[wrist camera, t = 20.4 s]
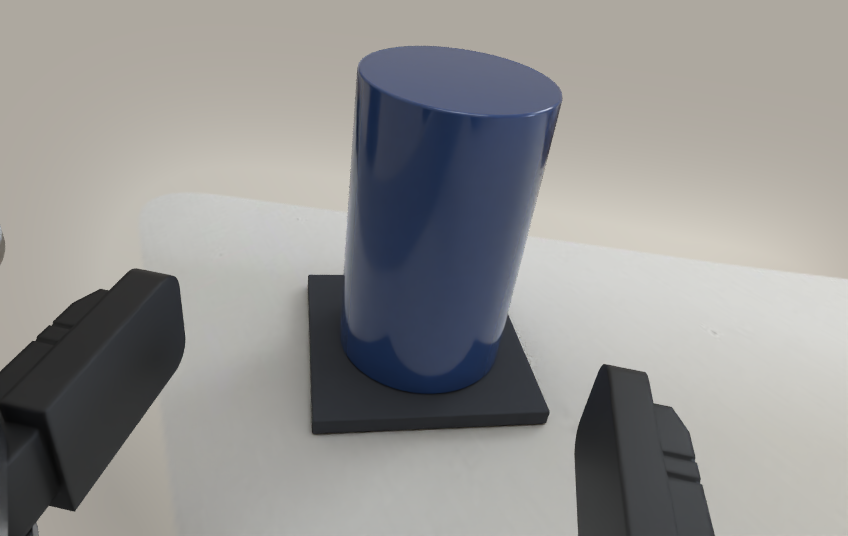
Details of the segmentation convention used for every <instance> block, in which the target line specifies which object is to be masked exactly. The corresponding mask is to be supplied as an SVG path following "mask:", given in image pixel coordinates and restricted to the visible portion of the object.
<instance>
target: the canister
mask: <svg viewBox="0 0 848 536" xmlns="http://www.w3.org/2000/svg"><path fill="white" fill-rule="evenodd" d="M356 81H357V82H356V97H355V111H354V126H353V127H354V128H353V141H352V156H351V171H350V186H349V188H350V189H349V201H348V216H347V231H346V247H345V262H344V277H343V292H342V307H341V322H340V340H341V344H342V347H343V349H344V351H345V353H346V355H347V356H348V358H349V359H350V361H351V362H352V363H353V364H354V365H355V366H356V367H357V368H358V369H359V370H360V371H361V372H362V373H364V374H365V375H367V376H368V377H370V378H371V379H373V380H375V381H377V382H379V383H381V384H383V385H386V386H388V387H391V388H394V389H397V390H401V391H406V392H411V393H419V394H440V393H448V392H452V391H457V390H460V389H463V388H466V387H468V386H470V385H472V384H474V383H476V382H477V381H479V380H480V379H482V378H483V377H484V376H485V375H486V374H487V373H488V372H489V371H490V369H491V368H492V367H493V365H494V363H495V361H496V358H497V354H498V350H499V346H500V342H501V338H502V334H503V330H504V327H505V323H506V319H507V315H508V311H509V307H510V303H511V299H512V295H513V291H514V287H515V283H516V279H517V275H518V271H519V268H520V264H521V260H522V256H523V252H524V248H525V244H526V240H527V236H528V232H529V228H530V224H531V220H532V216H533V212H534V208H535V204H536V201H537V197H538V193H539V189H540V185H541V181H542V177H543V173H544V169H545V165H546V161H547V157H548V154H549V150H550V146H551V142H552V138H553V134H554V130H555V126H556V122H557V118H558V114H559V110H560V106H561V103H562V92H561V90H560V88H559V87H558V86H557V84H556V83H555V82H553V81H552V80H551V79H550V78H548V77H546V76H545V75H544V74H542V73H540V72H538V71H536V70H534V69H532V68H530V67H528V66H525V65H523V64H520V63H517V62H514V61H511V60H508V59H505V58H501V57H498V56H494V55H490V54H485V53H480V52H476V51H470V50H464V49H457V48H449V47H437V46H404V47H395V48H388V49H383V50H379V51H376V52H373V53H371V54H369V55H367V56H365V57H364V58H363V59H362V60H361V61H360V62H359V64H358V68H357V80H356Z"/></svg>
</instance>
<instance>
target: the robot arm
mask: <svg viewBox="0 0 848 536" xmlns="http://www.w3.org/2000/svg"><path fill="white" fill-rule="evenodd" d="M184 348H185V331H184V322H183V313H182V304H181V295H180V287H179V282H178V280H177V278H176V277H174V276H171V275H166V274H161V273H156V272H152V271H147V270H142V269H132V270H130V271H129V272H127V273H126V274H125V275H124V276H123V277H122V278H121V279H120V280H119V281H118V282H117V283H116V284H115V285H114V286H113V287H112V288H111V289H110V290H109V291H108V290H103V289H99V290H97V291H95V292H93V293H92V294H89V295H87V296H85V297H83V298H82V299H79V300H78V301H76V302H74V303H72V304H71V305H70V306H69V307H68V308H67V309H66V310H65V311H64V312H63V313H62V314H60V315H59V316H58V317H57V318H56V320H54V321H53V325H52V326H50V325H49V326H48V327H47V328H46V329H45V330H44V331H42V333H40V334H39V335H38V336H37V339H36V341H32V342H31V343H30V344H29V345H28V346H27V347H26V348H25V349H23V350H22V351H21V352H20V353H19V354H18V355H17V356H16V357H15V358H14V359H13V360H12V361H11V362H10V363H9V364H8V365H6V366H5V367H4V368H3V369H2V370H1V371H0V536H39V534H38V533H39V532H38V526H37V523H36V521H37V520H38V519H39V517H40V516H41V515H42V514H43V512H44V511H45V510H46V508H47V507H48V506H53V507H57V508H61V509H66V510H70V511H75V510H76V509H77V507H78V506H79V505H80V503H81V502H82V501H83V499H84V498H85V496H86V495H87V494H88V492H89V491H90V489H91V488H92V486H93V485H94V484H95V482H96V481H97V480H98V478H99V477H100V475H101V474H102V473H103V471H104V470H105V469H106V467H107V466H108V464H109V463H110V462H111V460H112V459H113V457H114V456H115V454H116V453H117V452H118V450H119V449H120V448H121V446H122V445H123V443H124V442H125V440H126V439H127V438H128V437H129V435H130V434H131V432H132V431H133V429H134V428H135V427H136V425H137V424H138V423H139V421H140V420H141V418H142V417H143V416H144V414H145V413H146V412H147V410H148V408H149V407H150V406H151V405H152V403H153V402H154V400H155V399H156V398H157V396H158V395H159V393H160V392H161V391H162V389H163V388H164V386H165V385H166V384H167V382H168V381H169V380H170V378H171V377H172V375H173V374H174V373H175V371H176V370H177V368H178V366H179V364H180V362H181V359H182V356H183V353H184ZM575 476H576V498H577V519H578V536H715V535H714V531H713V527H712V523H711V519H710V514H709V510H708V506H707V502H706V498H705V494H704V490H703V486H702V484H700V480H701V478H700V474H699V470H698V466H697V463H695V454H694V450H693V446H692V442H691V437H690V433H689V431H688V430H687V428H686V427H685V425H684V424H683V422H682V421H681V420H680V418H679V417H678V415H677V414H676V413H675V411H674V410H673V408H672V407H668V406H664V405H659V404H654V403H653V399H652V394H651V389H650V383H649V379H648V376H647V374H646V373H645V372H641V371H636V370H631V369H626V368H621V367H616V366H611V365H606V364H603V365H602V366H601V368H600V370H599V372H598V375H597V377H596V380H595V382H594V385H593V388H592V390H591V393H590V396H589V398H588V401H587V404H586V406H585V409H584V412H583V414H582V417H581V419H580V422H579V426H578V430H577V435H576V441H575Z"/></svg>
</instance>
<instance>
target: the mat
mask: <svg viewBox="0 0 848 536" xmlns="http://www.w3.org/2000/svg"><path fill="white" fill-rule="evenodd" d="M343 277H344V275H309V276H308V301H309V336H310V371H311V405H312V432H313V434H317V433H339V432H362V431H385V430H407V429H430V428H452V427H475V426H497V425H520V424H542V423H546V421H547V418H548V415H549V409H548V407H547V405H546V402H545V400H544V398H543V395H542V393H541V391H540V388H539V386H538V383H537V381H536V379H535V376H534V374H533V372H532V369H531V367H530V365H529V362H528V360H527V358H526V355H525V353H524V351H523V348H522V346H521V344H520V341H519V339H518V337H517V334H516V332H515V330H514V327H513V325H512V323H511V320H510V318H509V316H508V315H507V319H506V323H505V327H504V330H503V334H502V338H501V342H500V346H499V350H498V354H497V358H496V361H495V363H494V365H493V367H492V368H491V369H490V371H489V372H488V373H487V374H486V375H485V376H484V377H483V378H482V379H480V380H479V381H477V382H476V383H474V384H472V385H470V386H468V387H466V388H463V389H460V390H457V391H452V392H448V393H440V394H419V393H411V392H406V391H401V390H397V389H394V388H391V387H388V386H386V385H383V384H381V383H379V382H377V381H375V380H373V379H371V378H370V377H368V376H367V375H365V374H364V373H362V372H361V371H360V370H359V369H358V368H357V367H356V366H355V365H354V364H353V363H352V362H351V361H350V359H349V358H348V356H347V355H346V353H345V351H344V349H343V347H342V344H341V340H340V322H341V307H342V292H343Z"/></svg>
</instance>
